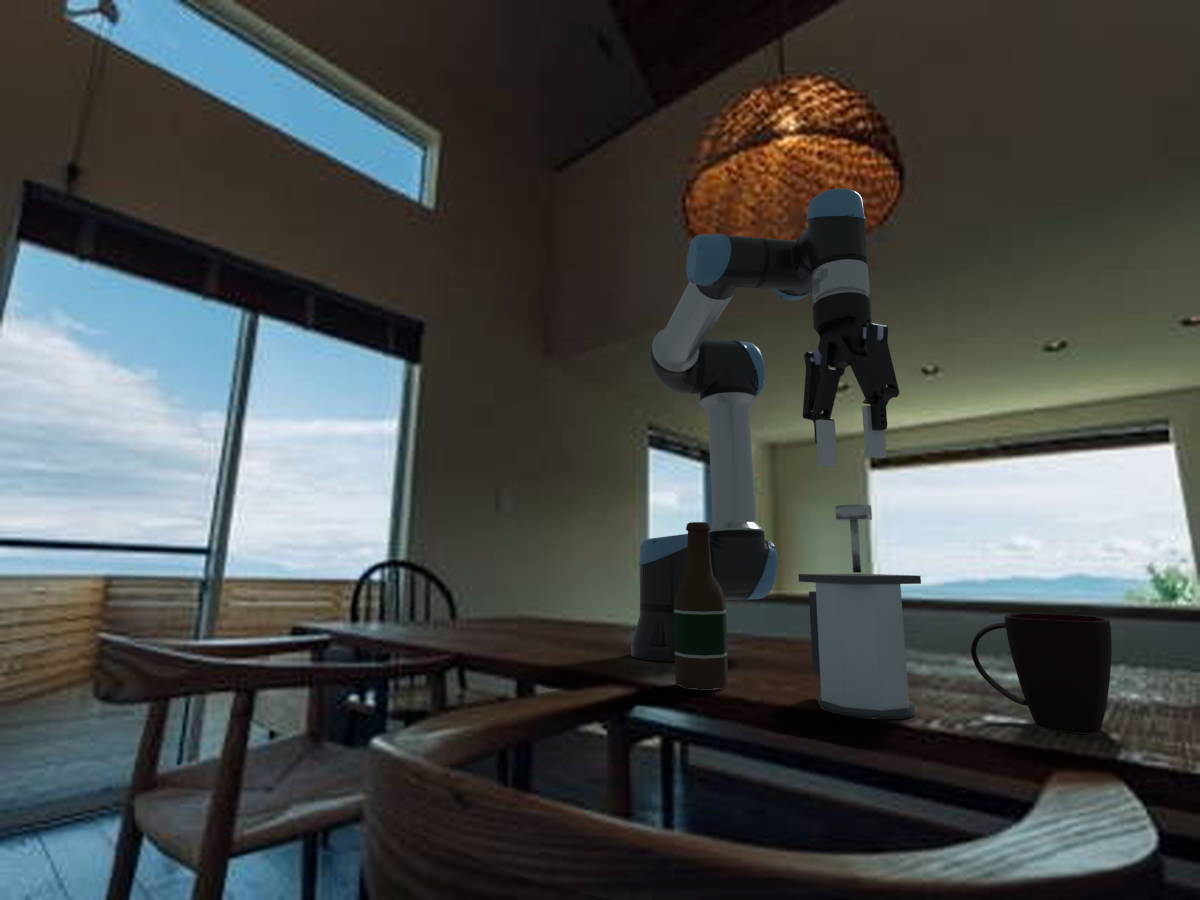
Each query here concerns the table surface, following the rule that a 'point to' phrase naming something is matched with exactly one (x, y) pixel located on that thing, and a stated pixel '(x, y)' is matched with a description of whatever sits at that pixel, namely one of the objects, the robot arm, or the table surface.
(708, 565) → the beer bottle
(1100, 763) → the table surface
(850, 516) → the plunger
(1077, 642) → the cup
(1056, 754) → the table surface
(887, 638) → the grey capped canister
